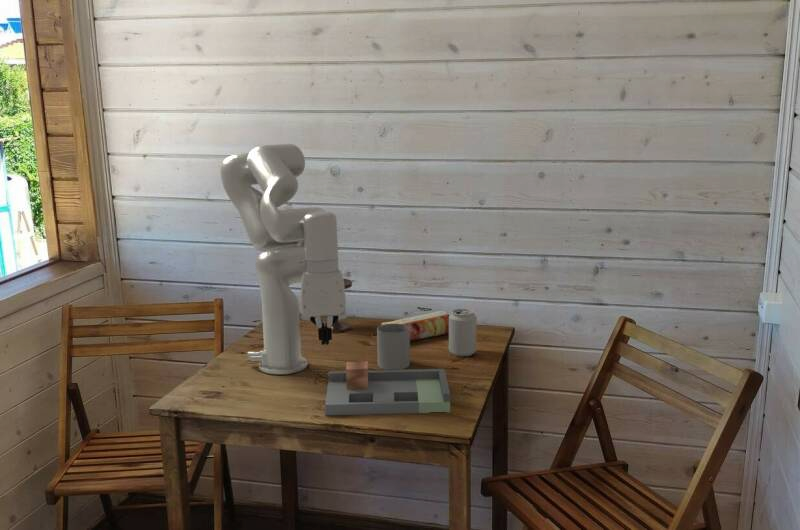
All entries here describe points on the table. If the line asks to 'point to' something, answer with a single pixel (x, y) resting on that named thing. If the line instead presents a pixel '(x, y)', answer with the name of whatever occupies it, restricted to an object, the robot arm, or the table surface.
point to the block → (357, 375)
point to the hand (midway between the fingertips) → (325, 342)
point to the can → (462, 332)
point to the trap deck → (389, 393)
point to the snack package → (425, 325)
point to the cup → (393, 346)
